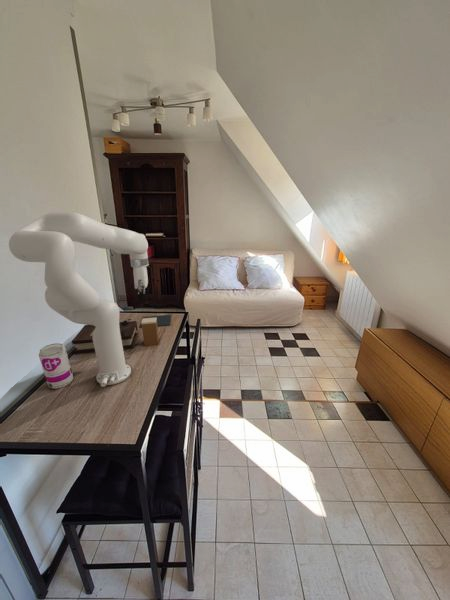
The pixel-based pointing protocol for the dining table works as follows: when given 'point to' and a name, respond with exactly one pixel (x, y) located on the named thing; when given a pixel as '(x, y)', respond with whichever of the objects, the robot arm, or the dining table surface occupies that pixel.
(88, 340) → the decorative book
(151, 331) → the cardboard box
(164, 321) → the slate mat
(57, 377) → the supplement can
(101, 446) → the dining table surface
